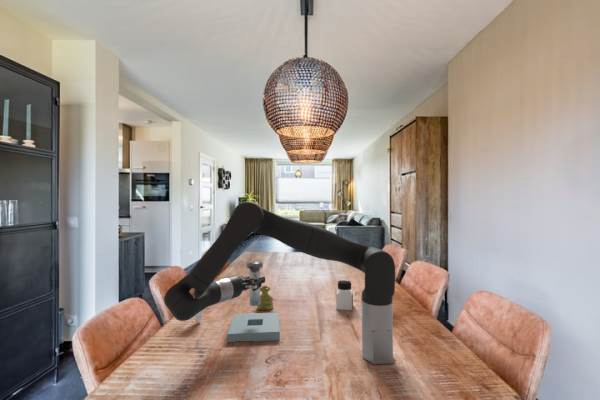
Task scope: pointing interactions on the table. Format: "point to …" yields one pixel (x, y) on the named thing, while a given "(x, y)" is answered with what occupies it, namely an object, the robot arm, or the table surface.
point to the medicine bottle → (344, 296)
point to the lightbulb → (199, 317)
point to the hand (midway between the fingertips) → (259, 278)
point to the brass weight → (265, 299)
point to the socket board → (254, 327)
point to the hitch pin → (254, 273)
